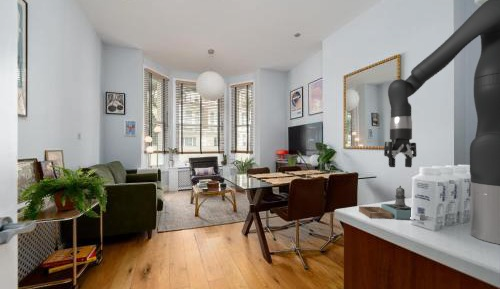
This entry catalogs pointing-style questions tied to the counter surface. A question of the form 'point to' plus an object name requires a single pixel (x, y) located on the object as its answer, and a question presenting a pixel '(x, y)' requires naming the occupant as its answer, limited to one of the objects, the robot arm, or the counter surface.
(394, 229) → the counter surface
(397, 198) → the salt shaker
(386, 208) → the teal tray
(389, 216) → the walnut socket
